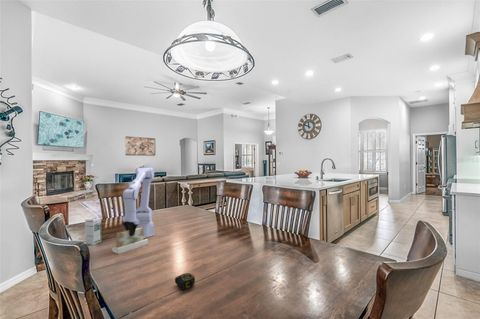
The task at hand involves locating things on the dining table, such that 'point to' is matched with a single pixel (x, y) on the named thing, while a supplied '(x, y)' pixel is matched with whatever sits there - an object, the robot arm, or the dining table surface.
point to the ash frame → (129, 237)
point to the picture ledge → (130, 246)
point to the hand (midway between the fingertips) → (130, 235)
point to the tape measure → (185, 281)
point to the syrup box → (93, 230)
